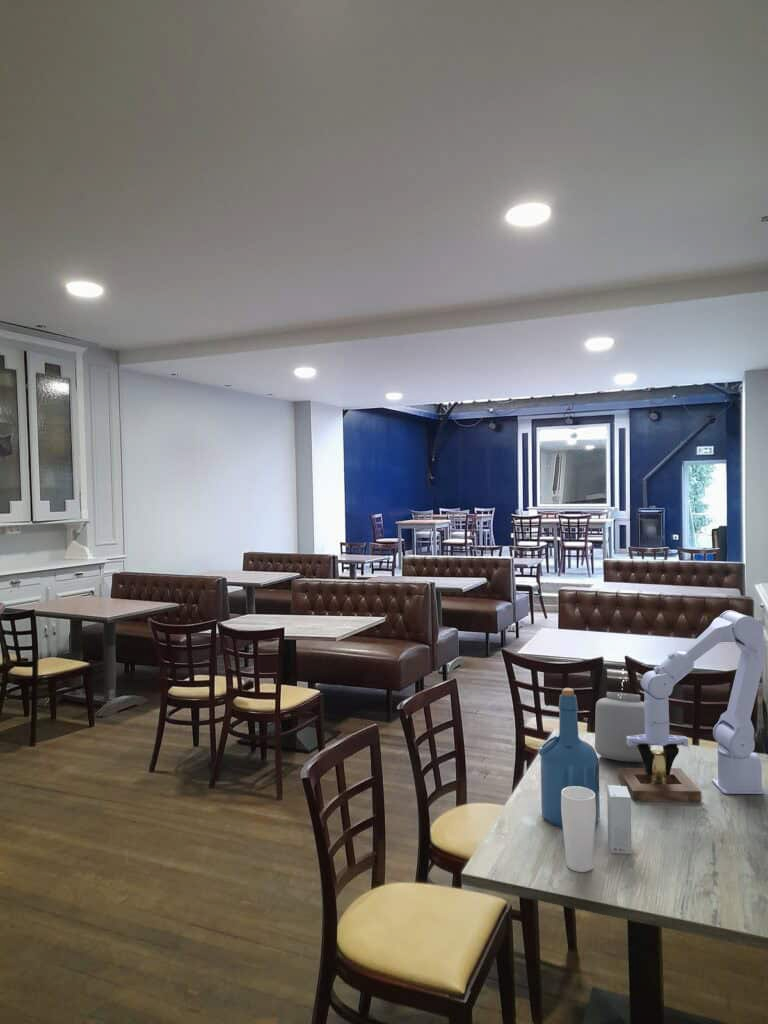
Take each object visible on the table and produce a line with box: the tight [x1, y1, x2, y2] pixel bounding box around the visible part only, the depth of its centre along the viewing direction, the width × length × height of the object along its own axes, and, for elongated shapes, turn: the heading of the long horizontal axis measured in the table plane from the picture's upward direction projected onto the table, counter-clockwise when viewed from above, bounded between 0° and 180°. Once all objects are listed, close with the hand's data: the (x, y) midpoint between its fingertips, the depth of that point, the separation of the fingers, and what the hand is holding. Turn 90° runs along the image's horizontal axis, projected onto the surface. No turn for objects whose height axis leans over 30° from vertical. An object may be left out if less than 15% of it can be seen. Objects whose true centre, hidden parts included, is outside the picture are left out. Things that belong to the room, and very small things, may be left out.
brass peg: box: [649, 749, 667, 784], centre depth 173 cm, size 4×4×8 cm
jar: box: [594, 668, 652, 763], centre depth 193 cm, size 19×15×25 cm
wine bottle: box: [537, 687, 601, 829], centre depth 159 cm, size 14×13×30 cm
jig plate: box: [617, 767, 702, 803], centre depth 173 cm, size 16×14×2 cm
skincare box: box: [606, 784, 632, 855], centre depth 146 cm, size 6×4×12 cm
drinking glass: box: [561, 786, 597, 873], centre depth 138 cm, size 7×7×15 cm
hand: (657, 773), depth 173 cm, fingers closed on brass peg, 4 cm apart
